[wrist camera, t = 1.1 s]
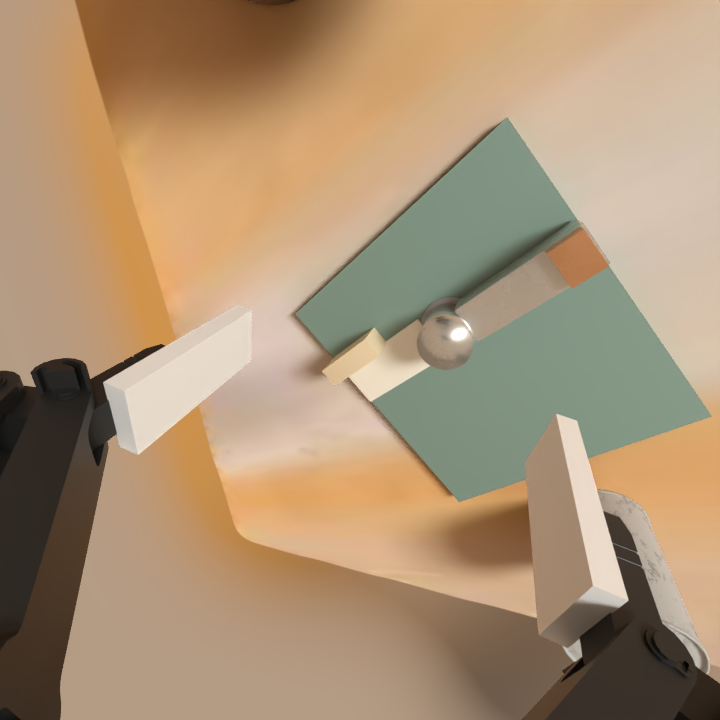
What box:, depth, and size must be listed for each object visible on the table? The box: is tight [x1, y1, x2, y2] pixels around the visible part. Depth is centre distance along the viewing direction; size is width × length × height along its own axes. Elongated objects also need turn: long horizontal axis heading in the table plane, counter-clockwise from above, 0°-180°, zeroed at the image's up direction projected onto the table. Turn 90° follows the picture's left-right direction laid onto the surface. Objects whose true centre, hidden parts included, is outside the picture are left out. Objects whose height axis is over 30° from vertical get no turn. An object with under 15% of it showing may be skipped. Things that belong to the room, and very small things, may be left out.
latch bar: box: [417, 219, 610, 370], centre depth 28 cm, size 14×4×4 cm, turn 132°
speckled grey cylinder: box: [562, 489, 710, 674], centre depth 33 cm, size 10×10×12 cm
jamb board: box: [295, 118, 711, 502], centre depth 32 cm, size 28×24×4 cm
